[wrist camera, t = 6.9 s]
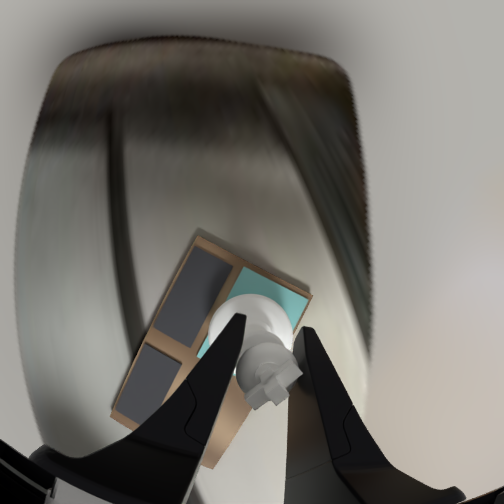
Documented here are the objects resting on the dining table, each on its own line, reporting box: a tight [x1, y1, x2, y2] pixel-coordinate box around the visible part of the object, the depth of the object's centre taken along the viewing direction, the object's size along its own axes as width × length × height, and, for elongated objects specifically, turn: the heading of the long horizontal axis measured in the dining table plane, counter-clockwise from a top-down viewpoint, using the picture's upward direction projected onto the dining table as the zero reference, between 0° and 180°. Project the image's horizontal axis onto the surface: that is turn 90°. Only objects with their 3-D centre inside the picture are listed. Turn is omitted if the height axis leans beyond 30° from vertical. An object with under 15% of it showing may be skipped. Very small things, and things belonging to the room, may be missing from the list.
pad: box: [197, 267, 308, 376], centre depth 18 cm, size 7×5×1 cm
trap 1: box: [153, 246, 233, 348], centre depth 18 cm, size 6×3×1 cm, turn 153°
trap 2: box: [115, 343, 182, 425], centre depth 17 cm, size 6×3×1 cm, turn 153°
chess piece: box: [208, 294, 303, 410], centre depth 11 cm, size 5×5×10 cm
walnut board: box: [110, 236, 313, 469], centre depth 18 cm, size 15×8×1 cm, turn 153°
